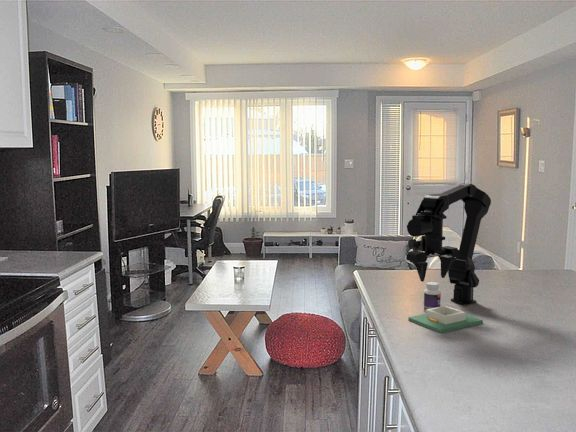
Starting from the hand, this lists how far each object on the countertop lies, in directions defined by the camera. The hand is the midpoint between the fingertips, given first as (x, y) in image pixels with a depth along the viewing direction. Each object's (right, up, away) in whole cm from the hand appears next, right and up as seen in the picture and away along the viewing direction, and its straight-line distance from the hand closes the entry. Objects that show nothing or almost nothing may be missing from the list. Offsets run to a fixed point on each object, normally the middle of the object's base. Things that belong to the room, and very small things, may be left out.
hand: (432, 279), depth 181 cm
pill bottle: (0, -11, +1) cm, 11 cm away
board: (+1, -12, -9) cm, 15 cm away
